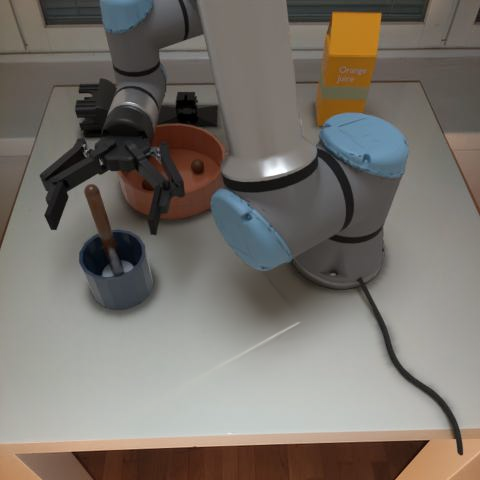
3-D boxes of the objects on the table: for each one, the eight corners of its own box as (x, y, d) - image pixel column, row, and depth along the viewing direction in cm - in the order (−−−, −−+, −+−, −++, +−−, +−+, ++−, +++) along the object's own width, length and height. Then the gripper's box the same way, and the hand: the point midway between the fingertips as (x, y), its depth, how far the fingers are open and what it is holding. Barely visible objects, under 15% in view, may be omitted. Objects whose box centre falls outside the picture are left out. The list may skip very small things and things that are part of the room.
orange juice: (360, 127, 98) (385, 23, 81) (317, 126, 98) (333, 22, 81) (355, 104, 102) (379, 1, 85) (314, 103, 102) (330, 0, 85)
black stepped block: (156, 127, 97) (152, 106, 93) (159, 106, 101) (156, 85, 97) (216, 126, 97) (215, 105, 93) (217, 105, 101) (216, 84, 97)
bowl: (245, 195, 86) (246, 169, 81) (150, 236, 81) (145, 210, 76) (194, 139, 95) (192, 111, 90) (105, 172, 89) (98, 145, 84)
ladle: (144, 289, 74) (117, 190, 57) (114, 302, 72) (78, 205, 56) (130, 267, 76) (101, 167, 60) (101, 280, 75) (63, 181, 58)
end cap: (118, 137, 95) (111, 106, 89) (83, 139, 95) (73, 107, 89) (122, 108, 101) (115, 77, 95) (88, 109, 100) (79, 78, 95)
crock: (163, 295, 74) (156, 261, 67) (107, 321, 71) (94, 289, 65) (137, 255, 78) (128, 220, 72) (83, 279, 76) (69, 245, 69)
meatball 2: (206, 172, 88) (205, 161, 86) (195, 177, 88) (194, 166, 86) (200, 165, 90) (199, 154, 88) (189, 169, 89) (188, 159, 87)
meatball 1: (158, 191, 86) (156, 181, 84) (146, 196, 85) (144, 186, 83) (152, 184, 87) (150, 173, 85) (140, 188, 86) (138, 178, 84)
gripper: (210, 150, 77) (196, 248, 66) (59, 144, 78) (19, 240, 66) (208, 108, 71) (192, 208, 59) (44, 101, 72) (-4, 199, 60)
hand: (101, 225), depth 63 cm, fingers open, 13 cm apart
